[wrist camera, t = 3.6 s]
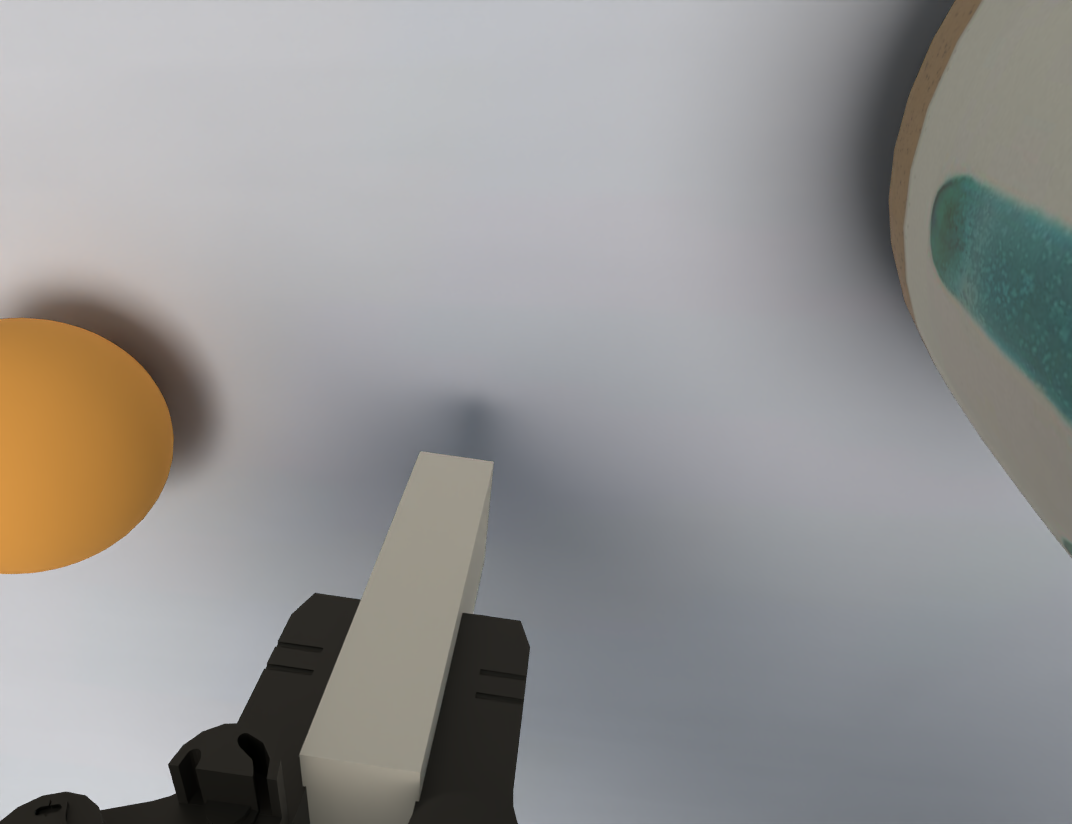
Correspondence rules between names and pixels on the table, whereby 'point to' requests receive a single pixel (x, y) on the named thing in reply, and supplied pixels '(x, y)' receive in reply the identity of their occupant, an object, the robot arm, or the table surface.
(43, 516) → the ball
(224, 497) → the table surface
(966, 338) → the vase
